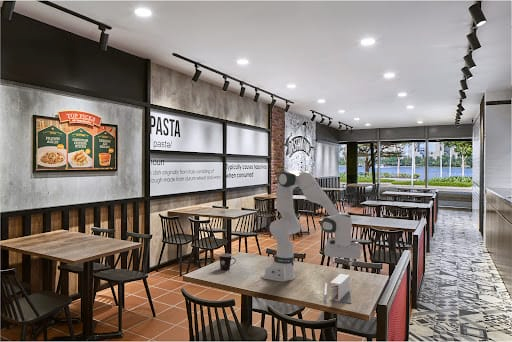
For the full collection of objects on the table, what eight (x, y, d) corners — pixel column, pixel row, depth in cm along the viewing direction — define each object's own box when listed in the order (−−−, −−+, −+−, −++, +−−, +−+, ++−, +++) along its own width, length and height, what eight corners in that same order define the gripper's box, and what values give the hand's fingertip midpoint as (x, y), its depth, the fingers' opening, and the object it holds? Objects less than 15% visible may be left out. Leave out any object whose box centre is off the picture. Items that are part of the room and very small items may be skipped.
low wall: (323, 300, 193) (324, 294, 193) (325, 288, 213) (325, 283, 213) (326, 301, 193) (326, 294, 193) (327, 288, 213) (327, 283, 213)
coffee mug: (216, 268, 249) (216, 254, 248) (226, 266, 254) (226, 252, 254) (226, 272, 240) (226, 258, 240) (236, 270, 246) (236, 256, 246)
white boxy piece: (339, 289, 211) (340, 273, 211) (349, 291, 208) (349, 275, 208) (329, 299, 194) (329, 282, 193) (339, 302, 191) (339, 284, 191)
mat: (332, 301, 192) (332, 300, 192) (332, 289, 212) (332, 288, 212) (351, 303, 190) (351, 302, 190) (349, 291, 210) (349, 290, 210)
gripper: (361, 241, 201) (360, 265, 202) (325, 238, 206) (324, 261, 206) (362, 244, 195) (361, 268, 196) (324, 240, 200) (323, 264, 200)
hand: (341, 265), depth 201 cm, fingers open, 8 cm apart
